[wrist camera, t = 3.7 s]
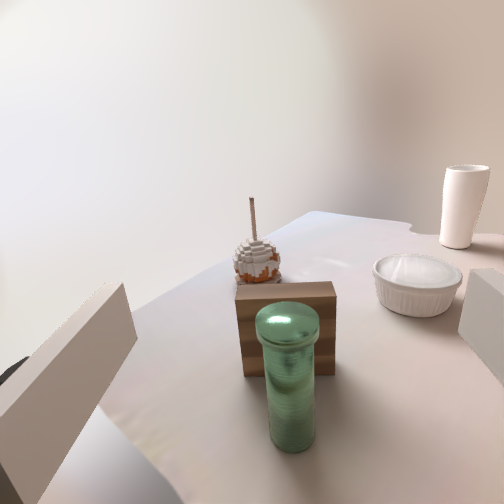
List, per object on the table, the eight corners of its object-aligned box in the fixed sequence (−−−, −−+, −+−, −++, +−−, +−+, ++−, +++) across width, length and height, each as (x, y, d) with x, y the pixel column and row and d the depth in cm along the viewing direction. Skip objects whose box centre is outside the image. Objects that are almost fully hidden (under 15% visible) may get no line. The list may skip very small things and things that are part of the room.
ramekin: (360, 285, 52) (361, 256, 50) (428, 279, 52) (432, 250, 50) (389, 327, 42) (393, 292, 40) (474, 319, 42) (482, 284, 40)
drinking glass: (457, 236, 67) (470, 163, 61) (483, 248, 61) (501, 168, 55) (427, 241, 66) (437, 167, 61) (451, 253, 60) (465, 172, 54)
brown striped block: (334, 374, 35) (336, 296, 31) (244, 376, 36) (234, 299, 32) (330, 355, 38) (331, 281, 34) (246, 357, 39) (238, 285, 35)
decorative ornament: (286, 287, 54) (281, 199, 48) (240, 295, 53) (230, 206, 47) (273, 268, 61) (269, 189, 55) (233, 274, 60) (224, 195, 54)
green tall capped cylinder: (322, 457, 27) (323, 338, 22) (265, 457, 27) (253, 339, 22) (306, 340, 40) (304, 251, 36) (268, 341, 41) (261, 253, 36)
